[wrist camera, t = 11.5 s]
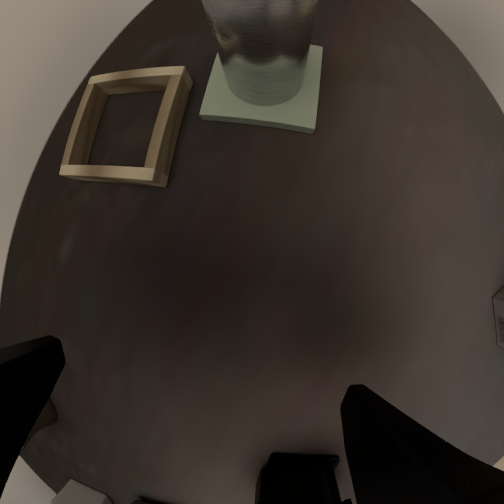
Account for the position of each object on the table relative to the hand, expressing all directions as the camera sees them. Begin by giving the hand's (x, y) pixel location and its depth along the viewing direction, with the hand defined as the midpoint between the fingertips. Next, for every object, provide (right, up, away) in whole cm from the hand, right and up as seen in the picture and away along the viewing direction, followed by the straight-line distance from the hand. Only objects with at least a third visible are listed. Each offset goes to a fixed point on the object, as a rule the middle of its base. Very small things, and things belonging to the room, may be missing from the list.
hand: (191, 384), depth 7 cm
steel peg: (+3, +16, +10) cm, 19 cm away
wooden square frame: (-8, +13, +12) cm, 19 cm away
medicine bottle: (-22, -34, +15) cm, 43 cm away
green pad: (+3, +17, +11) cm, 20 cm away
